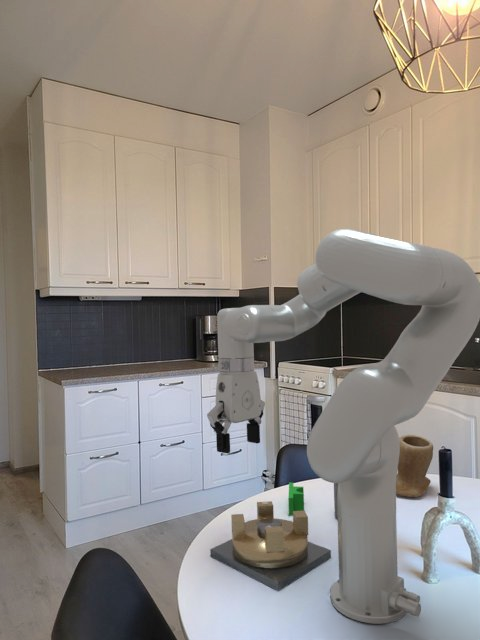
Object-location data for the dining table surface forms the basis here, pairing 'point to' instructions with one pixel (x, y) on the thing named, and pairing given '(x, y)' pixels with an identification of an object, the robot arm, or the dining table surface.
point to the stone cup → (413, 465)
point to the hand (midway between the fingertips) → (239, 447)
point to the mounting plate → (272, 576)
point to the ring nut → (270, 538)
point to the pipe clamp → (295, 499)
